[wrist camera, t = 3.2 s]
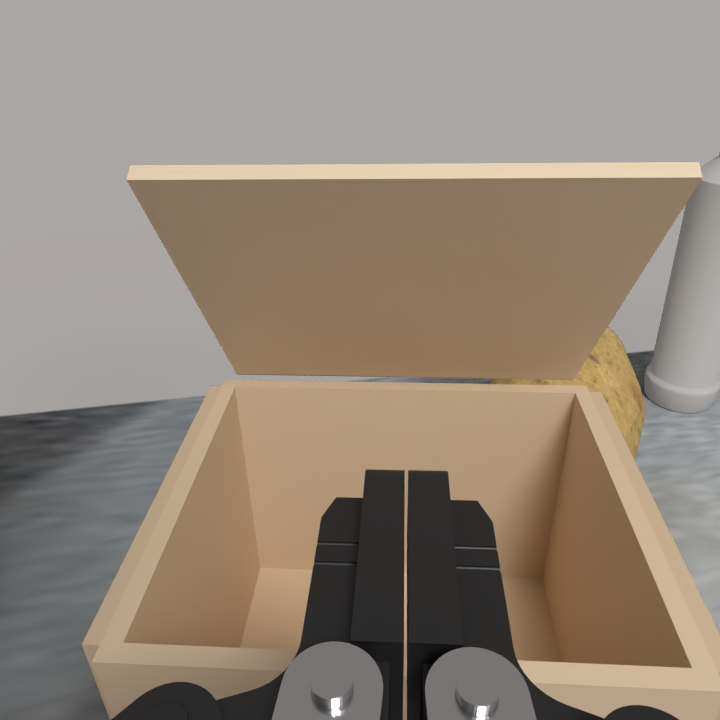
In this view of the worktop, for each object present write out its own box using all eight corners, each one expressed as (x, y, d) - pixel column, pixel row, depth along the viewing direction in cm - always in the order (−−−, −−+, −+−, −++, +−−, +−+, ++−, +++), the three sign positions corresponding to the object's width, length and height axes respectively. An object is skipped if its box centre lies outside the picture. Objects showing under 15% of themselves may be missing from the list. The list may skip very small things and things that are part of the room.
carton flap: (126, 179, 17) (130, 165, 17) (237, 374, 29) (238, 364, 29) (702, 177, 16) (699, 162, 16) (573, 380, 28) (572, 369, 28)
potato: (430, 482, 40) (436, 352, 36) (552, 393, 49) (569, 279, 44) (574, 570, 34) (604, 425, 29) (684, 449, 43) (722, 323, 38)
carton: (156, 873, 23) (73, 661, 17) (243, 566, 35) (213, 379, 29) (646, 906, 21) (748, 692, 15) (560, 577, 34) (598, 385, 28)
